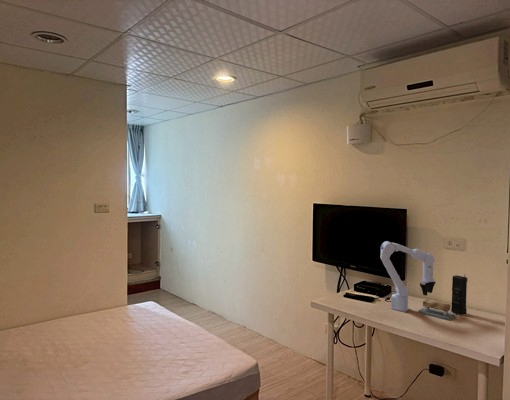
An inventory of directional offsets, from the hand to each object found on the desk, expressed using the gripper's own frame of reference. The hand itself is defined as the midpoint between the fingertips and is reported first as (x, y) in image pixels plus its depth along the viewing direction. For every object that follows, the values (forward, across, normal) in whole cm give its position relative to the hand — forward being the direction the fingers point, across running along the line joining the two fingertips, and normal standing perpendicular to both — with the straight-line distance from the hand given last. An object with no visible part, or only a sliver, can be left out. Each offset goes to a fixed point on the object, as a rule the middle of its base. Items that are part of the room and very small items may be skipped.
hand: (427, 293), depth 234 cm
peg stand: (+10, -4, -7) cm, 13 cm away
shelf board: (+6, -4, -7) cm, 10 cm away
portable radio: (+11, +9, -15) cm, 20 cm away
